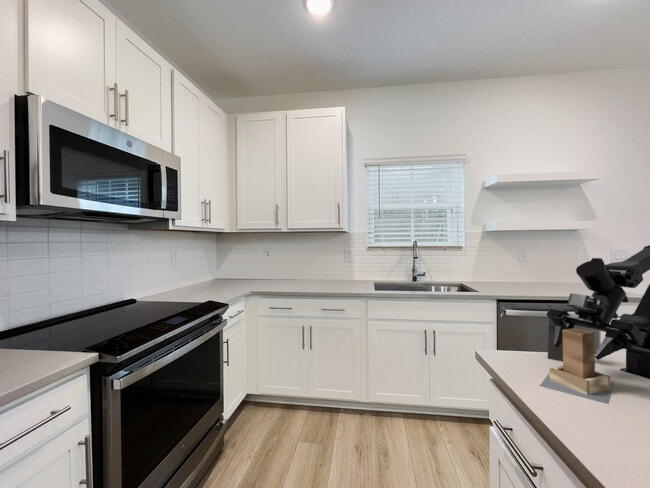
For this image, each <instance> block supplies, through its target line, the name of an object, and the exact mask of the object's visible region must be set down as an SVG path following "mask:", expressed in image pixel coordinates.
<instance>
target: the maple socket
mask: <svg viewBox="0 0 650 488" xmlns="http://www.w3.org/2000/svg"><path fill="white" fill-rule="evenodd" d="M549 373H550V380H551V381H553V382H556V383H558V384H561V385H564V386H566V387H569V388H571V389H574V390H576V391H579V392H581V393H584V394H586V395H588V394H592V393H596V392H601V391H605V390H609V389H611V381H612V380H611V379H612V376H611V375H608V374H604V373H601V372H599V371H596V370H595V377H592V378H588V379H583V378H580V377H577V376H575V375H572V374H569V373H566V372H563V365H560V366H554V367H550V368H549Z"/></svg>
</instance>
